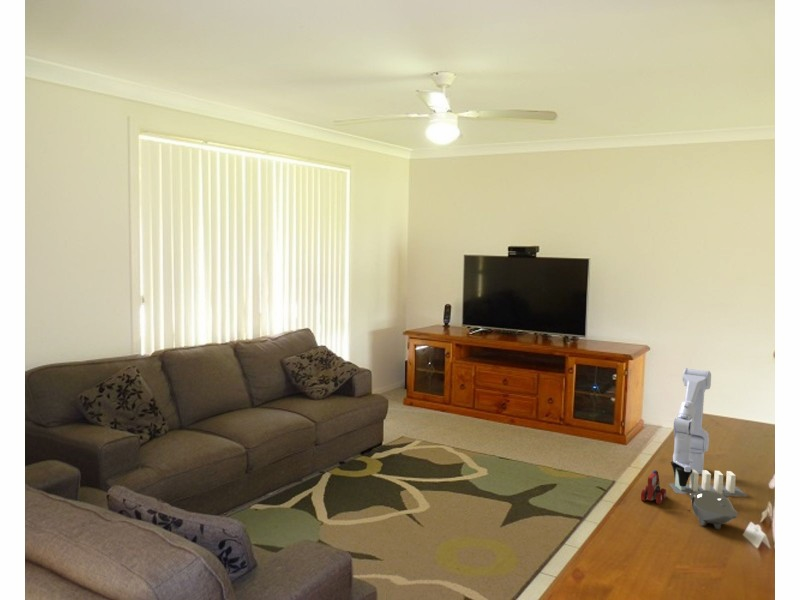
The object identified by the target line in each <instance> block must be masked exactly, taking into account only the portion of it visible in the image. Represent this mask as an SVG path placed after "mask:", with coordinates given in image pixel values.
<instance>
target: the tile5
mask: <svg viewBox="0 0 800 600" xmlns="http://www.w3.org/2000/svg"><path fill="white" fill-rule="evenodd" d="M736 476H737V475H736V474H735V473H733V471H730V470H726V477H725V478H726V479H725V486H726V489H727V490H728V491H729V492H730V493H735V486H736V481H737V479H736V478H737V477H736Z"/></svg>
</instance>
